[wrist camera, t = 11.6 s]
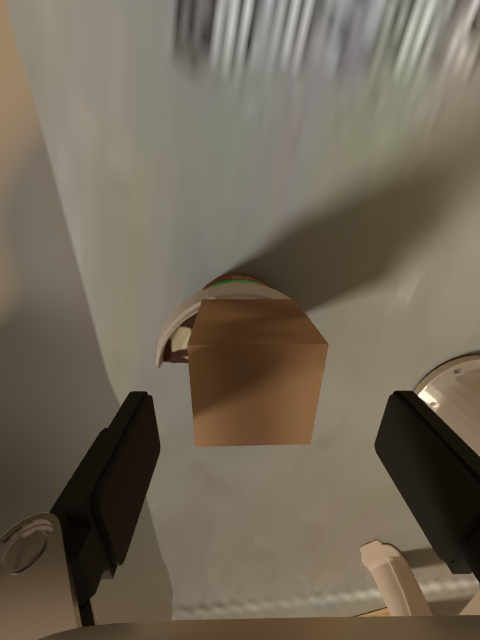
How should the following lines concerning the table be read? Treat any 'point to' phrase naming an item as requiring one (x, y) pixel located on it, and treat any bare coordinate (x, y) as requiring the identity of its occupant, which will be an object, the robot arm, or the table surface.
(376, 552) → the candle
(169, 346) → the food container
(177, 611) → the table surface
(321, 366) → the walnut block
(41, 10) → the table surface
